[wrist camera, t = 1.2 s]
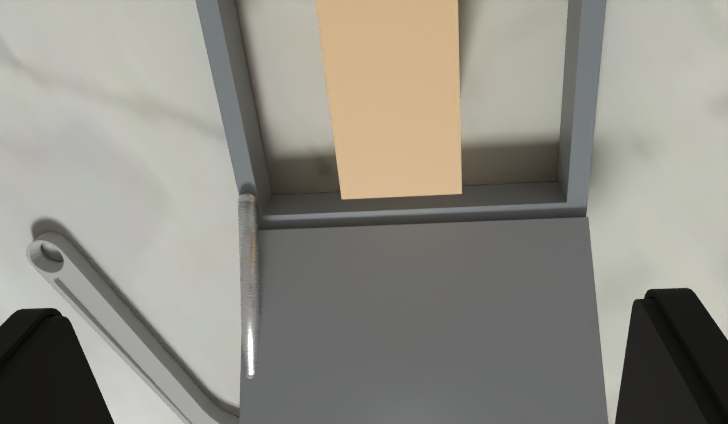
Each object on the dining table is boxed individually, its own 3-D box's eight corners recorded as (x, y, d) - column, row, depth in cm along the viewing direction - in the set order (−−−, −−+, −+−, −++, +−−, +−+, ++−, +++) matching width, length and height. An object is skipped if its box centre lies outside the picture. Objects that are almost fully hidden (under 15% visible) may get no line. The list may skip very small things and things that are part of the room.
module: (449, -37, 27) (457, -14, 20) (453, 126, 31) (462, 193, 24) (343, -27, 28) (315, -1, 21) (359, 131, 31) (341, 199, 24)
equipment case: (604, -170, 24) (730, -216, 14) (562, 341, 37) (613, 503, 27) (189, -119, 26) (49, -129, 16) (286, 345, 39) (240, 496, 29)
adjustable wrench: (30, 236, 37) (12, 251, 36) (107, 202, 36) (92, 215, 34) (231, 481, 47) (225, 501, 45) (300, 464, 45) (295, 484, 44)
